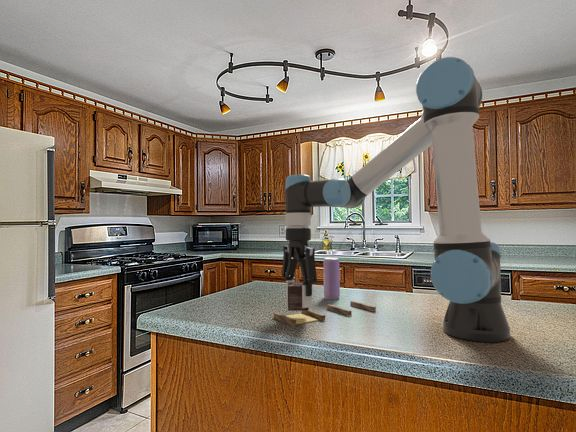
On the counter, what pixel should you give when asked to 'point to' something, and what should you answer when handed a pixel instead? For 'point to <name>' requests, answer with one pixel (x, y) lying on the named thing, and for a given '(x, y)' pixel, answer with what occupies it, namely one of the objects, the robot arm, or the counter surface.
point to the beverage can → (331, 278)
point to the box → (295, 297)
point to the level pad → (302, 318)
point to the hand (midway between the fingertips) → (298, 304)
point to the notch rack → (322, 317)
